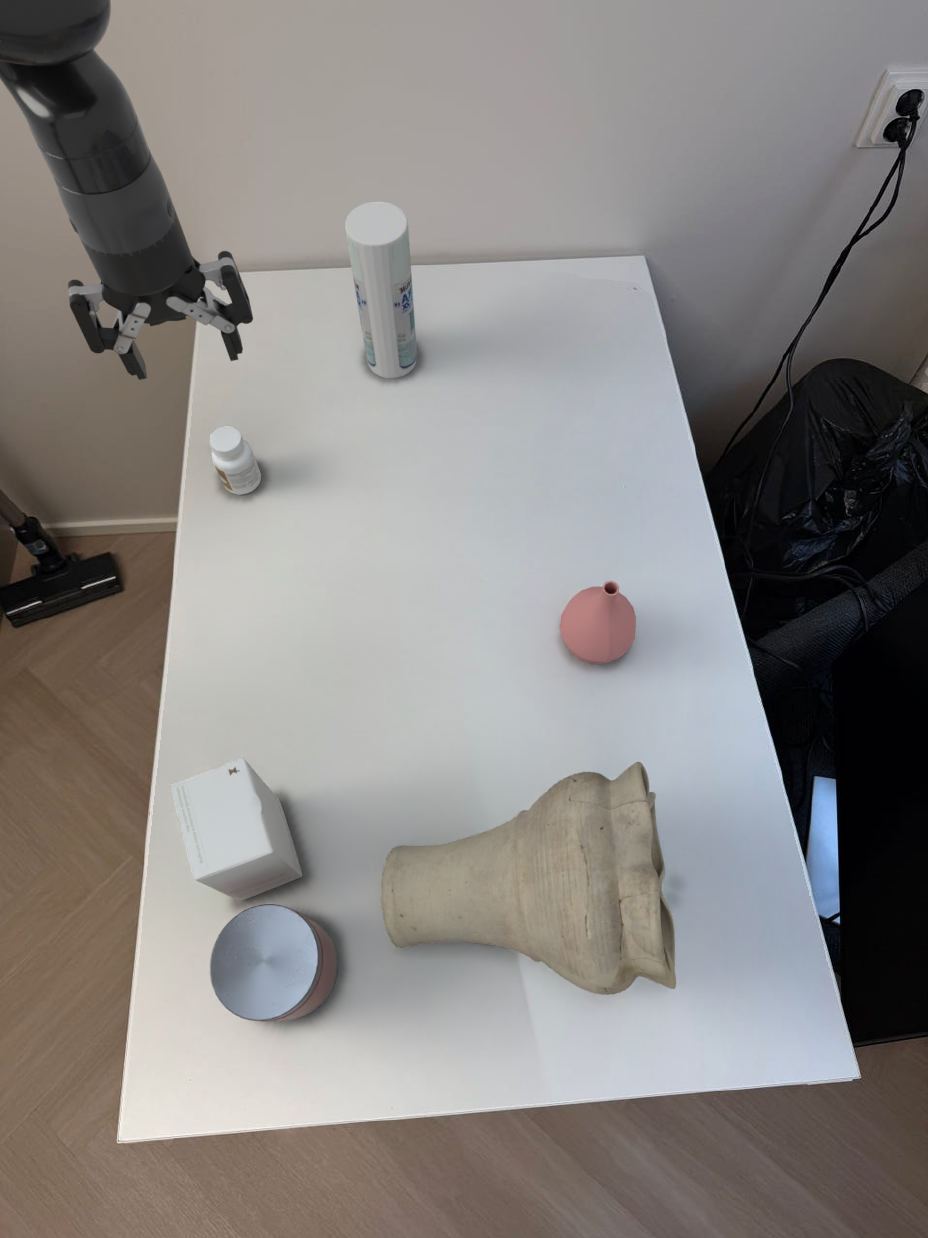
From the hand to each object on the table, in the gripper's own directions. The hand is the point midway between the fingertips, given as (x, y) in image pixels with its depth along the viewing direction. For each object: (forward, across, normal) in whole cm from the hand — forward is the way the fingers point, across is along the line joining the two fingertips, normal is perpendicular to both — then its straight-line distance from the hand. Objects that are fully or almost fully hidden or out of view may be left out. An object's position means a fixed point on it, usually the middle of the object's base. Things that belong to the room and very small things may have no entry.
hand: (188, 363), depth 79 cm
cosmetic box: (+20, +4, +42) cm, 46 cm away
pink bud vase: (+20, -33, +29) cm, 48 cm away
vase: (+20, -18, +51) cm, 58 cm away
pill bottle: (+20, 0, 0) cm, 20 cm away
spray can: (+20, -21, -13) cm, 32 cm away
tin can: (+20, +3, +52) cm, 56 cm away
